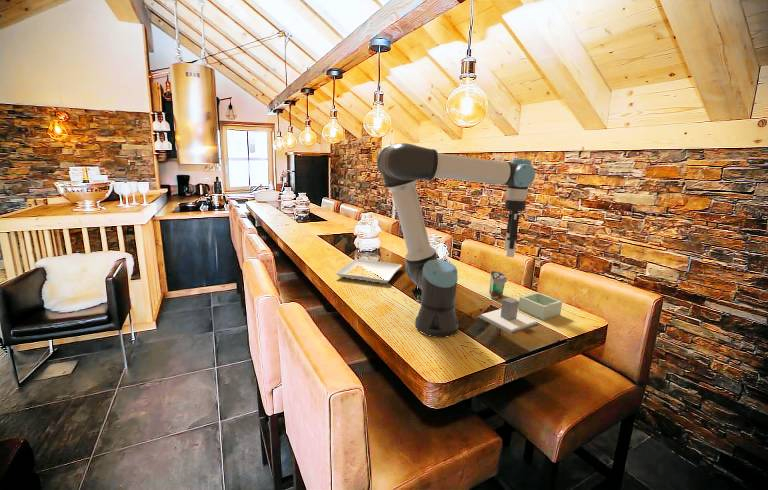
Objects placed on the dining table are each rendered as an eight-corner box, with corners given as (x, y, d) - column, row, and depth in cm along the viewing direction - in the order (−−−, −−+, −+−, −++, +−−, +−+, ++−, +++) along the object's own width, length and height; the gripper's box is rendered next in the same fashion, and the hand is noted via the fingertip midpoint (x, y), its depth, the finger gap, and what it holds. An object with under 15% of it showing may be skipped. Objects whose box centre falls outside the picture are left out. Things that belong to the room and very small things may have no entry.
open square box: (542, 321, 133) (544, 306, 132) (518, 310, 142) (519, 296, 141) (560, 315, 139) (562, 301, 137) (535, 305, 148) (537, 292, 146)
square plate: (334, 280, 172) (334, 272, 172) (355, 264, 198) (355, 258, 197) (388, 287, 165) (388, 279, 164) (402, 270, 190) (402, 263, 189)
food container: (506, 302, 150) (509, 280, 148) (491, 301, 151) (493, 279, 149) (503, 292, 162) (505, 271, 159) (489, 291, 163) (491, 270, 160)
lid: (510, 332, 123) (513, 311, 121) (480, 316, 135) (482, 297, 133) (536, 323, 130) (539, 303, 128) (505, 309, 142) (507, 290, 140)
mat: (511, 335, 122) (511, 334, 122) (476, 317, 135) (476, 316, 135) (540, 325, 130) (540, 324, 130) (505, 309, 143) (505, 308, 143)
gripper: (530, 203, 125) (521, 261, 130) (522, 197, 148) (516, 246, 153) (507, 202, 127) (500, 259, 132) (504, 196, 150) (497, 244, 155)
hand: (508, 252), depth 142 cm, fingers open, 13 cm apart
